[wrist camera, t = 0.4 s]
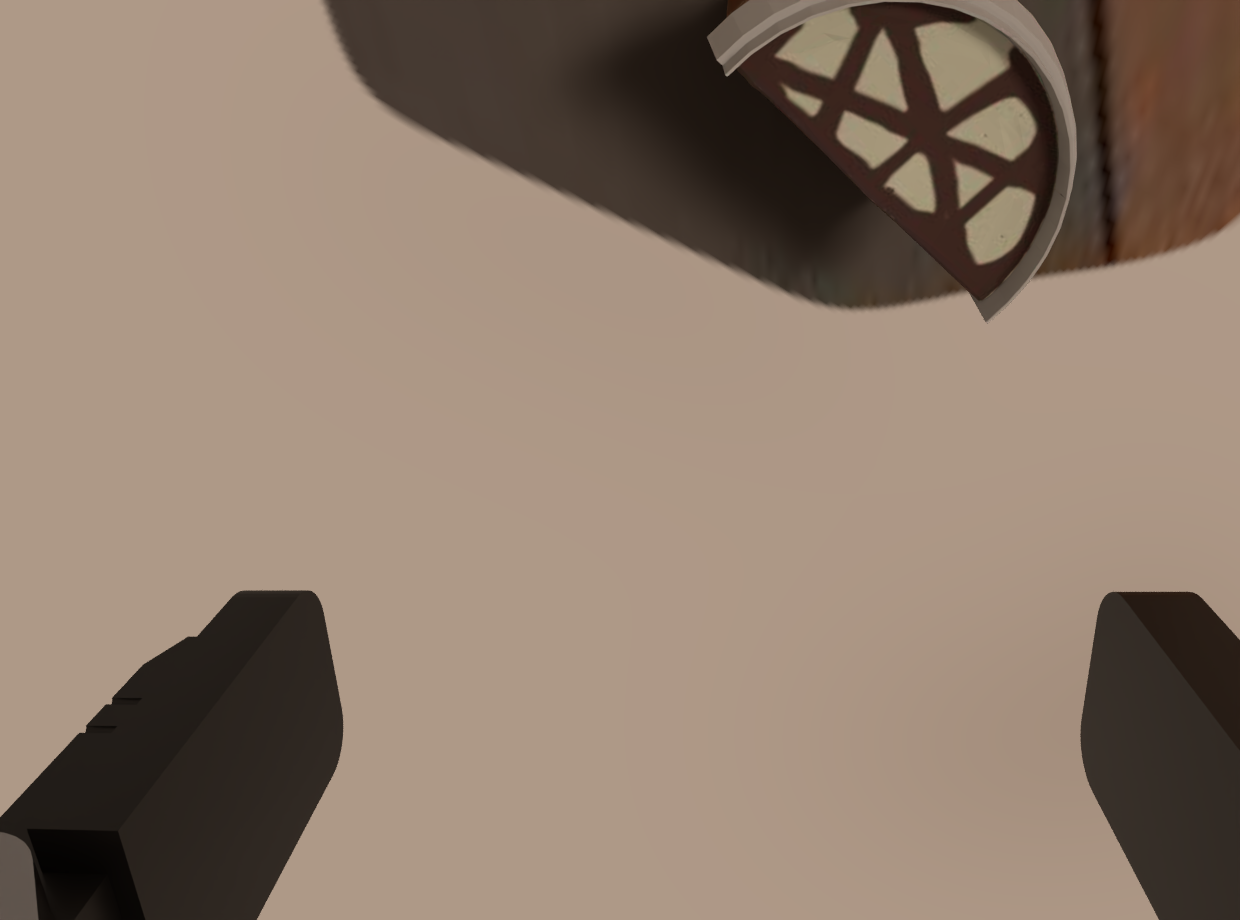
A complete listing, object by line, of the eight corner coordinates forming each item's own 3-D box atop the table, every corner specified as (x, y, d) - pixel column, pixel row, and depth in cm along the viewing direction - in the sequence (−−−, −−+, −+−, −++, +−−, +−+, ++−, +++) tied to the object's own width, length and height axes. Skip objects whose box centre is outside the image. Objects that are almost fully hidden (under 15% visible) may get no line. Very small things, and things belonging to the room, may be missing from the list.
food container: (1067, 73, 35) (1185, 192, 27) (927, 195, 38) (997, 334, 30) (835, -200, 30) (900, -149, 22) (696, -35, 33) (710, 61, 25)
